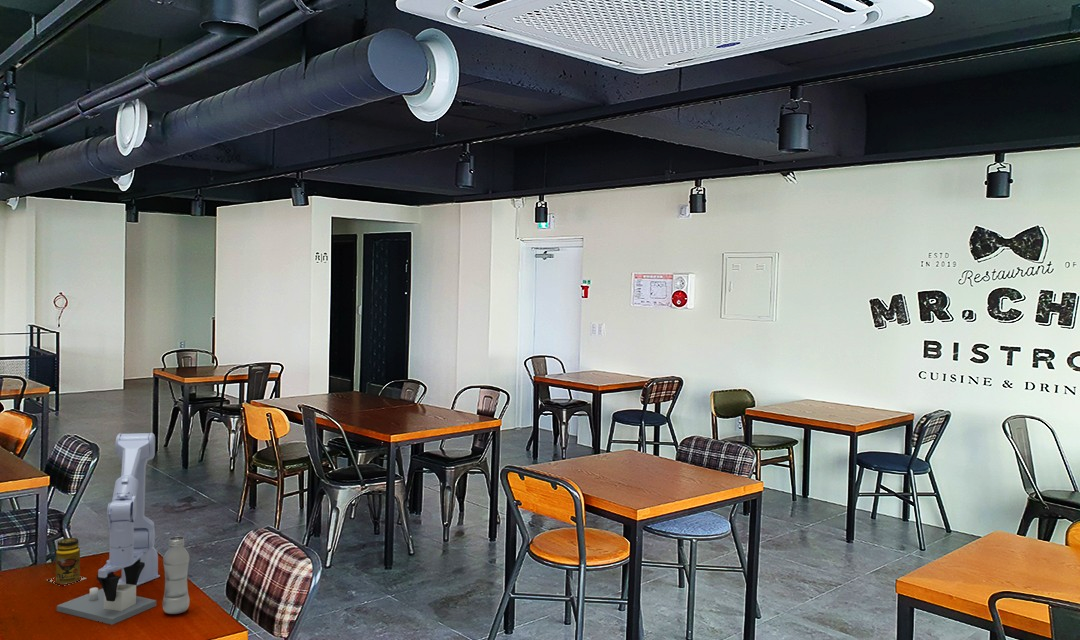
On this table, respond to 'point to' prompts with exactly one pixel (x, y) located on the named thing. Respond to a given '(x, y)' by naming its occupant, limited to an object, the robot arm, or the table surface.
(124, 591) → the collar
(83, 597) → the pin board
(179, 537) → the plastic bottle
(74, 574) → the condiment
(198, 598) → the table surface
